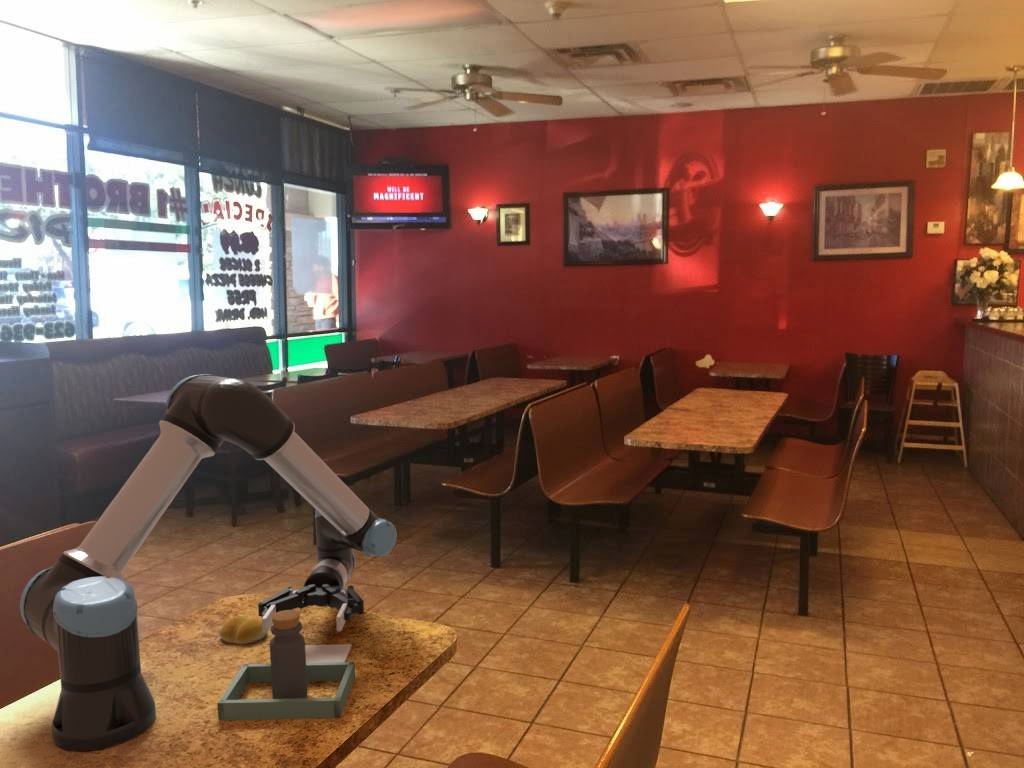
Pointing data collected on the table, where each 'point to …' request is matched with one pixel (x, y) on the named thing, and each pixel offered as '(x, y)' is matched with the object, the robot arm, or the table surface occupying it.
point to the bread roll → (242, 630)
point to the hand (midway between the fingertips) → (301, 625)
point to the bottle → (288, 656)
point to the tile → (327, 653)
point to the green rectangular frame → (287, 707)
